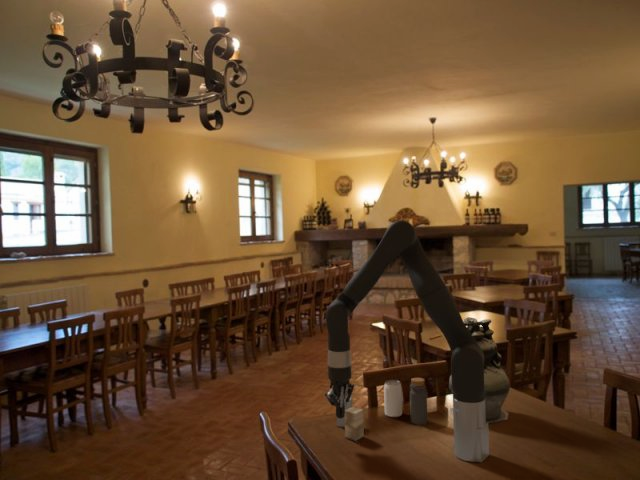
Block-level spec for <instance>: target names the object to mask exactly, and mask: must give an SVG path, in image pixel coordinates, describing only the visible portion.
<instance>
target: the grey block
mask: <svg viewBox="0 0 640 480" xmlns="http://www.w3.org/2000/svg"><path fill="white" fill-rule="evenodd" d="M353 405H354V404H353V397H350V400H349V402H346V405H345V410H347V409H349V408H351V407H354V406H353ZM336 427H341V428H345V417H343V418H342V419H340V418H337V417H336Z"/></svg>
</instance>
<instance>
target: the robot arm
mask: <svg viewBox="0 0 640 480" xmlns="http://www.w3.org/2000/svg"><path fill="white" fill-rule="evenodd" d="M386 228H387V229H386V231H385V233H384V234H383V236H382V239H381V240H380V241H379V243H378V245H377V246H376V248H375V249H374V250H373V252H372V254H371V255H370V256H369V258H368V259H367V260H366V261H365V262H364V263H363V264H362V266H361V267H360V268H359V269H358V270H357V271H356V273H355V274H354V275H353V276H352V277H351V278H350V280H349V281H348V283H346V285H345V286H344V288H343V290H342V291H341V293H340V294H338V296H337V297H336V298H335V299H334V300H333V302H332V303H330V305H328V307H326V311H325V320H326V321H325V322H326V330H327V346H328V347H327V349H328V350H327V378H328V380H329V382H330V384H329V388H330V389H329V391H328V392H327V391H326V392H325V393H324V396H325V397H326V399H327V400H328V402H329V404H330V405H331V406H332V407H333V406H334V407H335V416H336V417H335V418H336V419H337V418H340V419H342V418H343V417H345V405H346V402H349V400H350V398H352V394H353V391H354V389H355V384H352V383H351V382H350V379H352V354H351V338H350V333H349V324H348V323H349V317H350V316H351V315H352V313H353V312H354V311H355V310H356V308H357V306H358V305H359V304H360V303H361V302H362V301H363V300H364V299H365V298H366V297H367V295H368V294H369V293H371V292H372V290H373V289H374V287H375V285H376V284H377V283H378V282H379V279H381V277H382V275H384V273H385V271H386V270H387V268H388V267H389V266H390V264H392V263H393V261H395V259H396V258H397V257H398V256H399V258H400V260H401V261H402V262H403V264H404V266H405V268H406V270H407V273H408V275H409V279H410V282H411V284H412V287H413V291H414V293H415V294H416V296H417V298H418V301H419V302H420V305H421V306H422V308H423V309H424V311H425V313H426V314H427V316H428V317H429V318H430V320H431V321H432V322H433V323H434V324H435V326H436V327H437V328H438V329H439V330H440V332H441V333H442V335H443V336H444V338H445V340H446V342H447V344H448V347H449V350H450V351H451V358H450V376H451V380H452V390H453V394H452V403H453V404H452V406H453V407H452V408H453V442H454V446H453V448H454V450H453V451H454V455H455V457H456V458H458V459H460V460H462V461H466V462H478V463H483V462H484V461H485V460H486V459H487V458H488V457H489V456H490V440H489V439H490V434H489V423H486V415H485V388H484V353H483V351H482V349H481V348H480V346H479V345H478V344H477V342H476V341H475V339H474V338H473V336H472V335H471V333H470V332H469V330H468V329H467V327H468V326H465V324H464V322H463V321H464V319H463V317H462V315H461V313H460V311H459V309H458V306H457V304H456V302H455V300H454V299H453V296H452V294H451V293H450V291H449V289H448V287H447V285H446V283H445V282H444V280H443V279H442V277H441V275H440V273H439V272H438V270H437V269H436V268H435V267H434V265H433V264H432V263H431V261H430V260H429V258H428V257H427V254H426V252H425V250H424V248H423V246H422V243H421V241H420V239H419V237H418V233H417V230H416V228H415V226H414V225H412V223H410V222H408V221H407V220H396V221H393V222H392V223H390V224H389V225H388V227H386Z"/></svg>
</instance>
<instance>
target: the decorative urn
mask: <svg viewBox="0 0 640 480" xmlns="http://www.w3.org/2000/svg"><path fill="white" fill-rule="evenodd" d="M463 322H464V324H465V326H466V327H467V329H468V330H469V332H470V333H471V335H472V336H473V338H474V339H475V341H476V342H477V344H478V345H479V346H480V348H481V349H482V351H483V353H484V388H485V415H486V423H488V424H492V423H497V422H500V421H505V420H508V416H509V413H508V412H506V411H504V409H502V408H503V405H504V403H505V401H506V399H507V397H508V394H509V393H510V389H511V384H510V380H509V377H508V376H507V374H506V372H505V371H504V370H503V369H502V368H501V361H502V359H503V357H502V355H501V354H500V353H499V351H498V345H497V343H496V342H495V340H494V338H493V335H494V333H495V331H494V330H492V329H491V328H490V324H491V323H492V319H491V318H489V319H487V318H486V319H482V320H479V321H478V319H477V318H475V317H469V316H467V317H465V318H463ZM448 381H449V382H448V388H449V390H450V392H451V394H452V395H453V390H452V380H451V375H450V376H449V379H448ZM448 412H449V413H451V414H453V407H452V408H451V407H450V409H449V411H448Z"/></svg>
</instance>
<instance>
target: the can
mask: <svg viewBox="0 0 640 480" xmlns="http://www.w3.org/2000/svg"><path fill="white" fill-rule="evenodd" d="M383 397H384V400H383V401H384V402H383V403H384V404H383V405H384V415H385V416H387V417H390V418H400V417H401V416H402V415H403V393H402V384H401V381H399V380H397V379H389V380H385V381H384V385H383Z"/></svg>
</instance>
